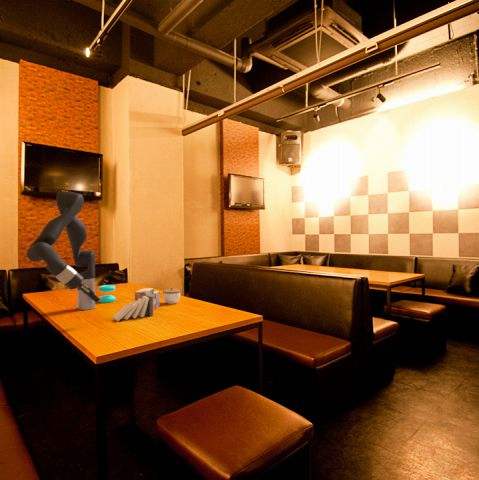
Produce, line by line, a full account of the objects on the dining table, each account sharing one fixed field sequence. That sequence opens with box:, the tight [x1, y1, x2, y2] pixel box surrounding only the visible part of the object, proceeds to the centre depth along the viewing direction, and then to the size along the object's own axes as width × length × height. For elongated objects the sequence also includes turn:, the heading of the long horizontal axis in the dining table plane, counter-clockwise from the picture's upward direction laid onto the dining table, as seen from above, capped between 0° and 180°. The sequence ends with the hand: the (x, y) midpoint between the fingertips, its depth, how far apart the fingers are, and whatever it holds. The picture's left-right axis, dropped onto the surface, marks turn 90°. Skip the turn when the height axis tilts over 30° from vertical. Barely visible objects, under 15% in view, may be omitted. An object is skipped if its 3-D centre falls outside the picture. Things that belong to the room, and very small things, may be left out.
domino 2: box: [121, 299, 140, 321], centre depth 166 cm, size 5×2×10 cm
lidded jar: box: [162, 287, 181, 305], centre depth 205 cm, size 11×11×9 cm
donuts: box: [98, 284, 116, 304], centre depth 211 cm, size 10×10×10 cm
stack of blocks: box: [134, 287, 161, 316], centre depth 184 cm, size 21×6×12 cm, turn 175°
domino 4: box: [137, 296, 149, 318], centre depth 170 cm, size 5×2×10 cm, turn 38°
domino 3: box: [130, 298, 145, 319], centre depth 168 cm, size 5×2×10 cm
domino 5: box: [146, 295, 154, 317], centre depth 172 cm, size 5×2×10 cm, turn 34°
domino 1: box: [112, 302, 134, 322], centre depth 164 cm, size 5×2×10 cm
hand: (98, 300), depth 156 cm, fingers closed
